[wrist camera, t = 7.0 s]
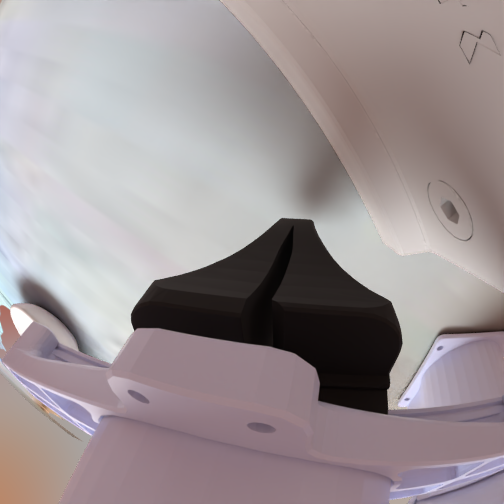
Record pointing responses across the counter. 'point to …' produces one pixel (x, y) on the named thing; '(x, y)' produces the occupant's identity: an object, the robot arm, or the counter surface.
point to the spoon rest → (41, 322)
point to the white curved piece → (405, 112)
